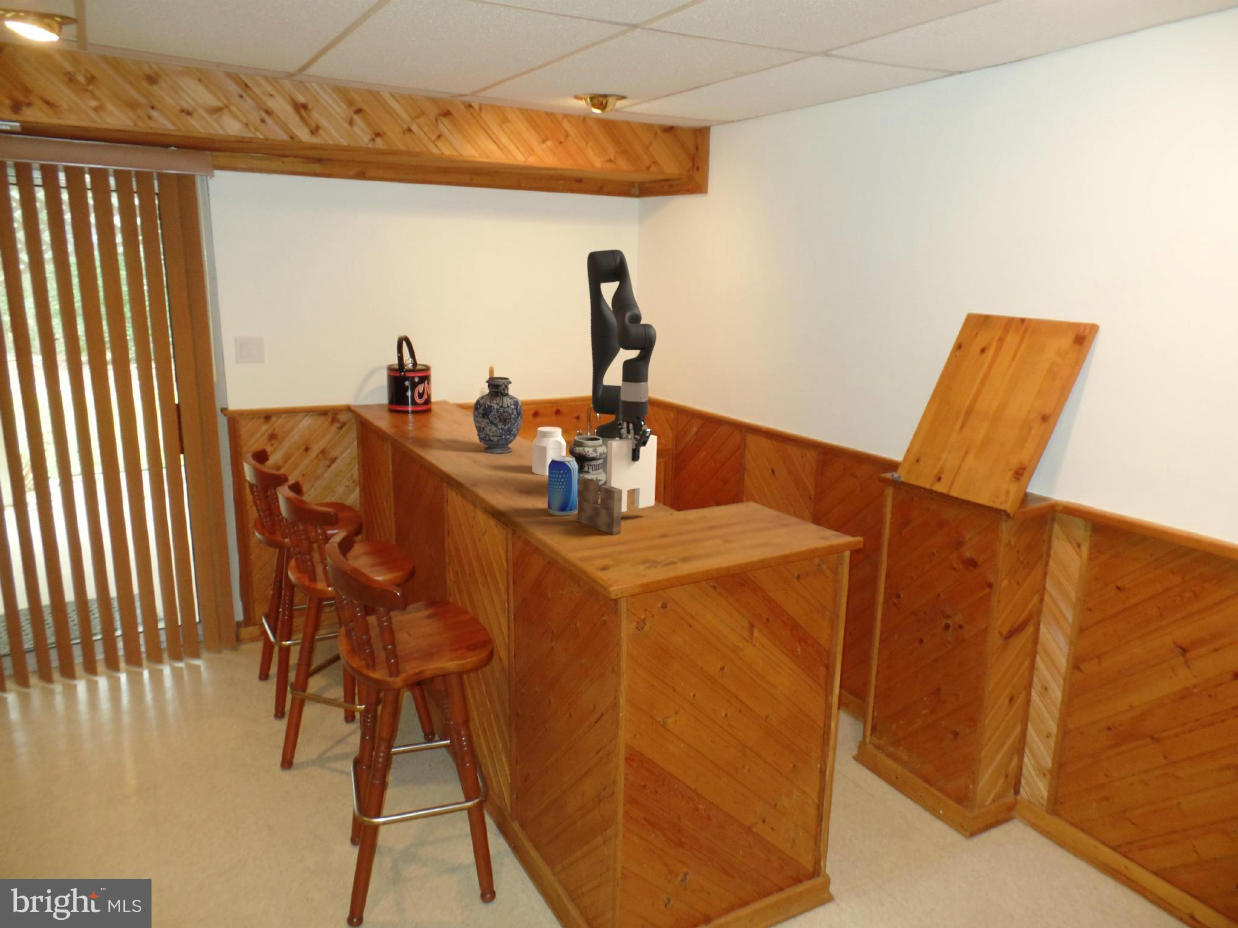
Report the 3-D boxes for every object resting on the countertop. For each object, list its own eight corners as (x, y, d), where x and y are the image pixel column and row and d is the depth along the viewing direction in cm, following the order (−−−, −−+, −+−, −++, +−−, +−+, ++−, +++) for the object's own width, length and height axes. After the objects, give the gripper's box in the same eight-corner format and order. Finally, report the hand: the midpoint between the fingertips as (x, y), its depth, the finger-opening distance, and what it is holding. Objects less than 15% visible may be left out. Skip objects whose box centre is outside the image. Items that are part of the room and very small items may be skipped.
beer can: (582, 511, 245) (583, 457, 241) (566, 518, 238) (567, 462, 234) (558, 506, 249) (559, 453, 245) (541, 513, 242) (542, 458, 238)
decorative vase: (466, 446, 328) (466, 374, 322) (512, 444, 336) (513, 374, 330) (481, 458, 309) (482, 381, 303) (529, 455, 317) (531, 381, 311)
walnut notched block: (577, 520, 236) (578, 478, 233) (584, 519, 237) (585, 477, 235) (613, 534, 224) (614, 491, 221) (620, 533, 225) (622, 489, 223)
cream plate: (610, 514, 231) (612, 442, 227) (605, 512, 233) (607, 441, 228) (654, 505, 241) (657, 436, 237) (649, 503, 243) (652, 435, 238)
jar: (557, 467, 299) (558, 425, 296) (570, 473, 291) (570, 430, 288) (527, 470, 293) (528, 427, 290) (539, 476, 285) (539, 432, 282)
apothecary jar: (601, 501, 256) (602, 443, 252) (562, 498, 259) (563, 440, 255) (609, 491, 268) (611, 435, 264) (572, 488, 270) (573, 433, 266)
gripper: (607, 395, 233) (606, 457, 236) (640, 402, 222) (638, 466, 226) (628, 393, 237) (626, 454, 241) (661, 400, 227) (659, 463, 231)
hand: (632, 460), depth 234 cm, fingers closed on cream plate, 2 cm apart
